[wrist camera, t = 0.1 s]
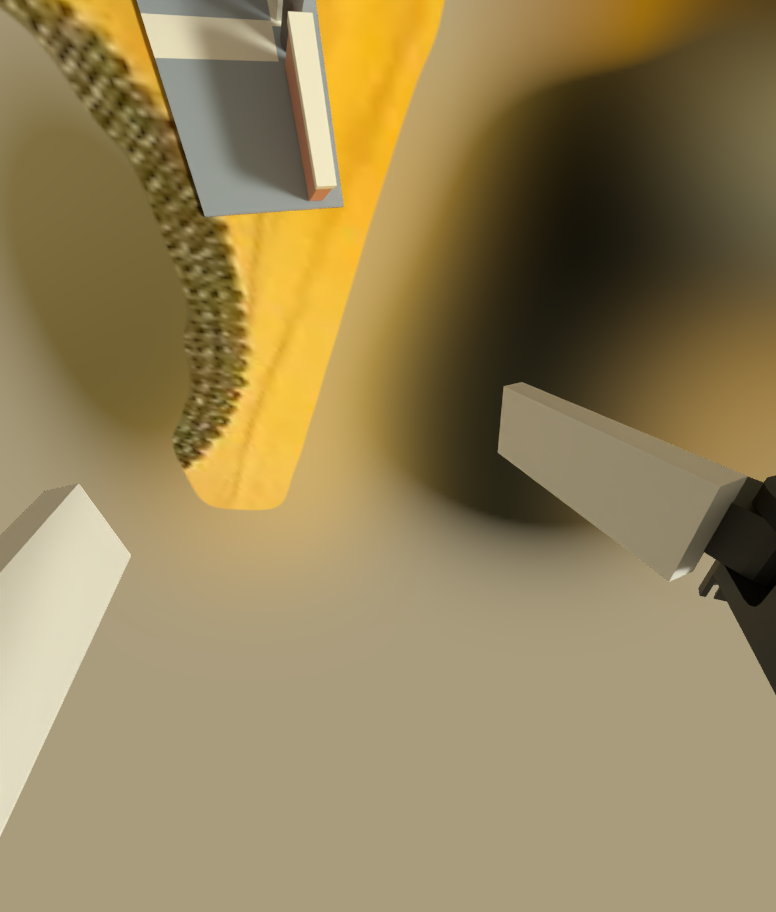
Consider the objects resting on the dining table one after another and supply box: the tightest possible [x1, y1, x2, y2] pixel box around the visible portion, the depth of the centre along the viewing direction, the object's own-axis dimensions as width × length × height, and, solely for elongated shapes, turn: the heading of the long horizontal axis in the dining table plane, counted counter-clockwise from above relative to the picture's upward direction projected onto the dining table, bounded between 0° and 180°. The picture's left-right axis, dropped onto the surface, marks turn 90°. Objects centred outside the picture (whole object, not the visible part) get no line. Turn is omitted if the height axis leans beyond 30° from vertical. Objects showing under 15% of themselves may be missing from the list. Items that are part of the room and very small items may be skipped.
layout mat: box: [137, 0, 343, 217], centre depth 24 cm, size 19×12×1 cm, turn 6°
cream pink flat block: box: [285, 11, 337, 201], centre depth 24 cm, size 8×2×6 cm, turn 6°
